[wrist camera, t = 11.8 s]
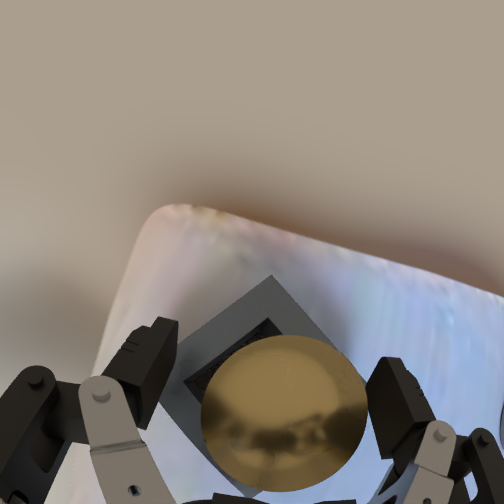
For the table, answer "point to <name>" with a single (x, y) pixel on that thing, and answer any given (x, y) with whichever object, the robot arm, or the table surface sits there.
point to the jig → (224, 343)
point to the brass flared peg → (284, 413)
